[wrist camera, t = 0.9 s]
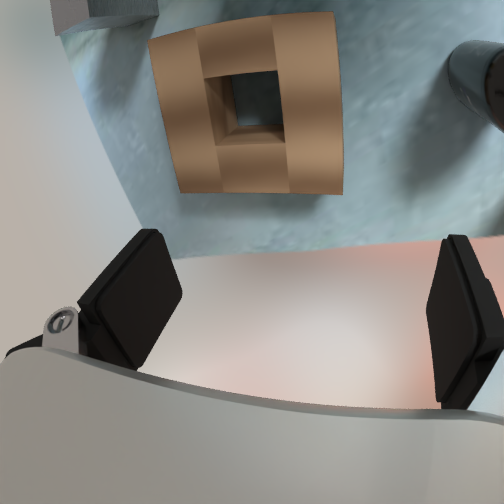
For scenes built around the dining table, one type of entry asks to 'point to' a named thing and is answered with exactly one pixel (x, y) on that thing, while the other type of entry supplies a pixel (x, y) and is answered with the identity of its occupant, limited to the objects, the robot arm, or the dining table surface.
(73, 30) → the square bit
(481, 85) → the supplement bottle
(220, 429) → the robot arm
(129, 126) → the dining table surface
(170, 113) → the socket block
